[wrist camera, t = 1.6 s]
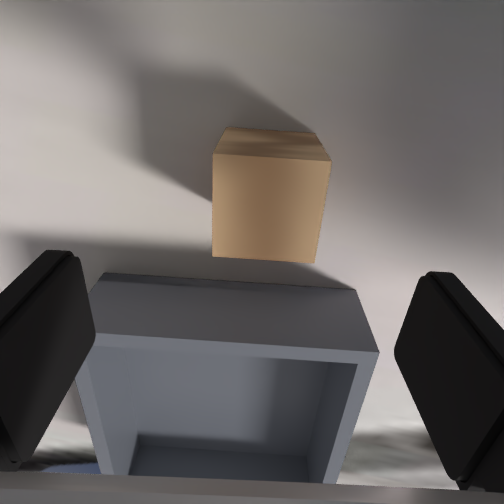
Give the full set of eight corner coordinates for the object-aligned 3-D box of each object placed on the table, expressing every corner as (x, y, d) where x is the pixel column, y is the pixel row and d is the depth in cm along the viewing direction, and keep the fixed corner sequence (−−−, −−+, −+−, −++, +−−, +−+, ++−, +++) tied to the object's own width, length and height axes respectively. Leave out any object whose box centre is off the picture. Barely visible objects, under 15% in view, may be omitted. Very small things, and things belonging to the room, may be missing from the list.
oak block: (314, 132, 20) (331, 161, 15) (302, 214, 22) (314, 263, 17) (226, 126, 20) (212, 153, 15) (224, 208, 22) (212, 256, 17)
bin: (355, 289, 25) (379, 352, 20) (314, 452, 35) (322, 523, 30) (104, 272, 25) (61, 330, 20) (134, 440, 35) (110, 508, 30)
